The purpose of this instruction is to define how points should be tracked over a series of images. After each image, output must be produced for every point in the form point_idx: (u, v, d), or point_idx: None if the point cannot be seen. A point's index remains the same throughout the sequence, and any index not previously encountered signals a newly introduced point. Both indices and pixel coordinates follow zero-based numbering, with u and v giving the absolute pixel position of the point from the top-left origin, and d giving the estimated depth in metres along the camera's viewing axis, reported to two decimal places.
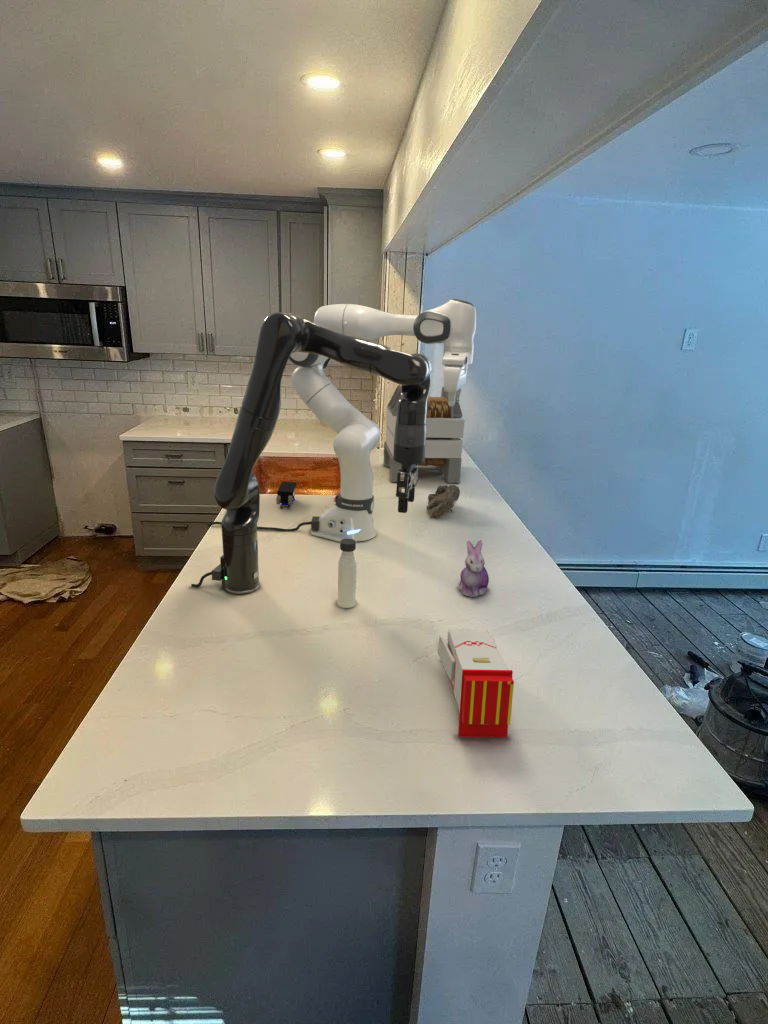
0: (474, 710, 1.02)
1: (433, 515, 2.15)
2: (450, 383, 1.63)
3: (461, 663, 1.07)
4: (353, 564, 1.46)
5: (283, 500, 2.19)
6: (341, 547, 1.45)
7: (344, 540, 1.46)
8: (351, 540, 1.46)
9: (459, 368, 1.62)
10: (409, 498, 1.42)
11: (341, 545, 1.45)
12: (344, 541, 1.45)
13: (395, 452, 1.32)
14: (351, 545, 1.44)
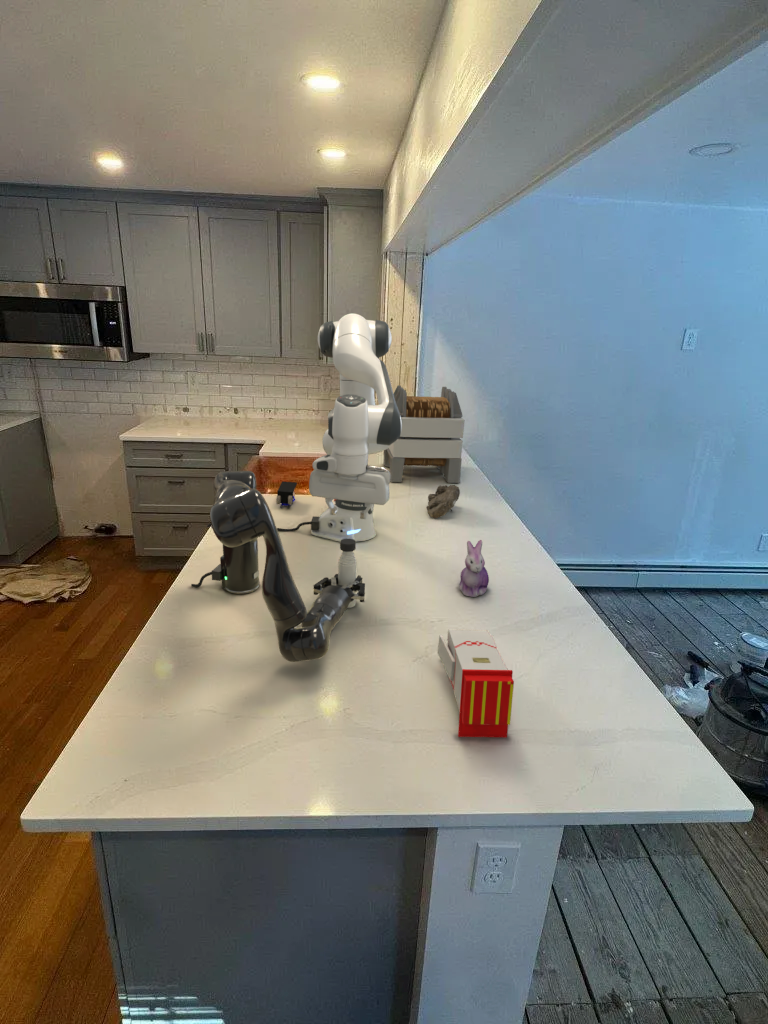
0: (474, 710, 1.02)
1: (433, 515, 2.15)
2: None
3: (461, 663, 1.07)
4: (353, 564, 1.46)
5: (283, 500, 2.19)
6: (341, 547, 1.45)
7: (344, 540, 1.46)
8: (351, 540, 1.46)
9: (313, 471, 1.39)
10: None
11: (341, 545, 1.45)
12: (344, 541, 1.45)
13: (323, 590, 1.38)
14: (351, 545, 1.44)
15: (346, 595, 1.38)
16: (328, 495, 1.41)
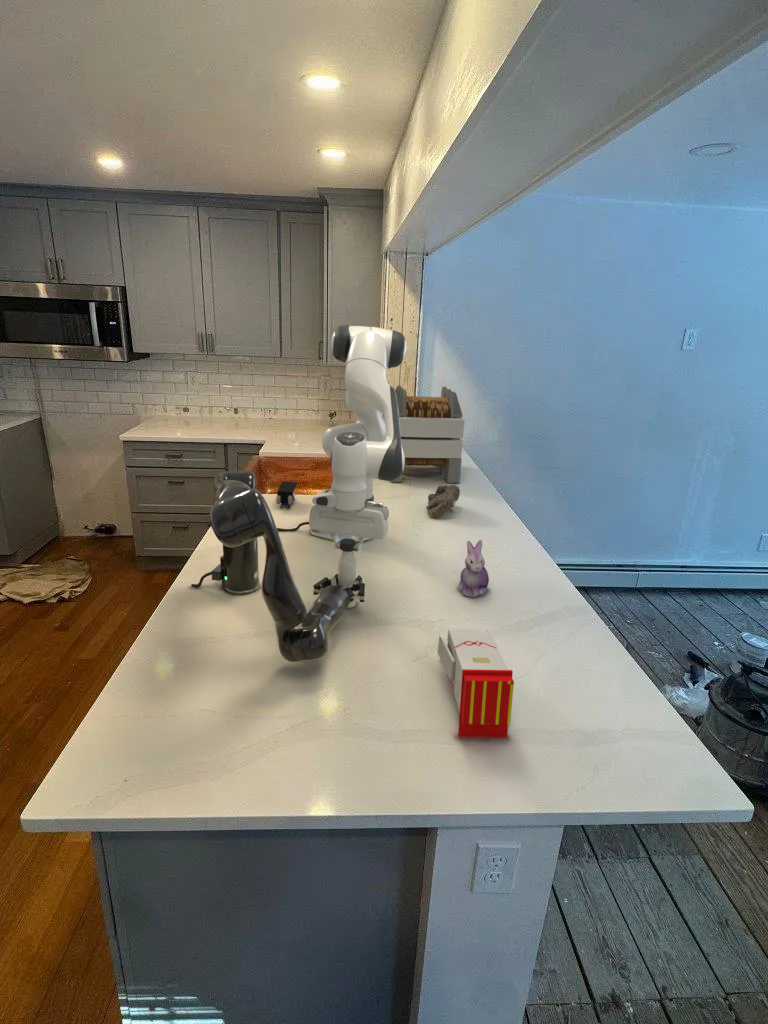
0: (474, 710, 1.02)
1: (433, 515, 2.15)
2: None
3: (461, 663, 1.07)
4: (353, 564, 1.46)
5: (283, 500, 2.19)
6: (341, 547, 1.45)
7: (344, 540, 1.46)
8: (351, 540, 1.46)
9: None
10: None
11: (341, 545, 1.45)
12: (344, 541, 1.45)
13: (323, 590, 1.38)
14: (351, 545, 1.44)
15: (346, 595, 1.38)
16: (328, 529, 1.44)
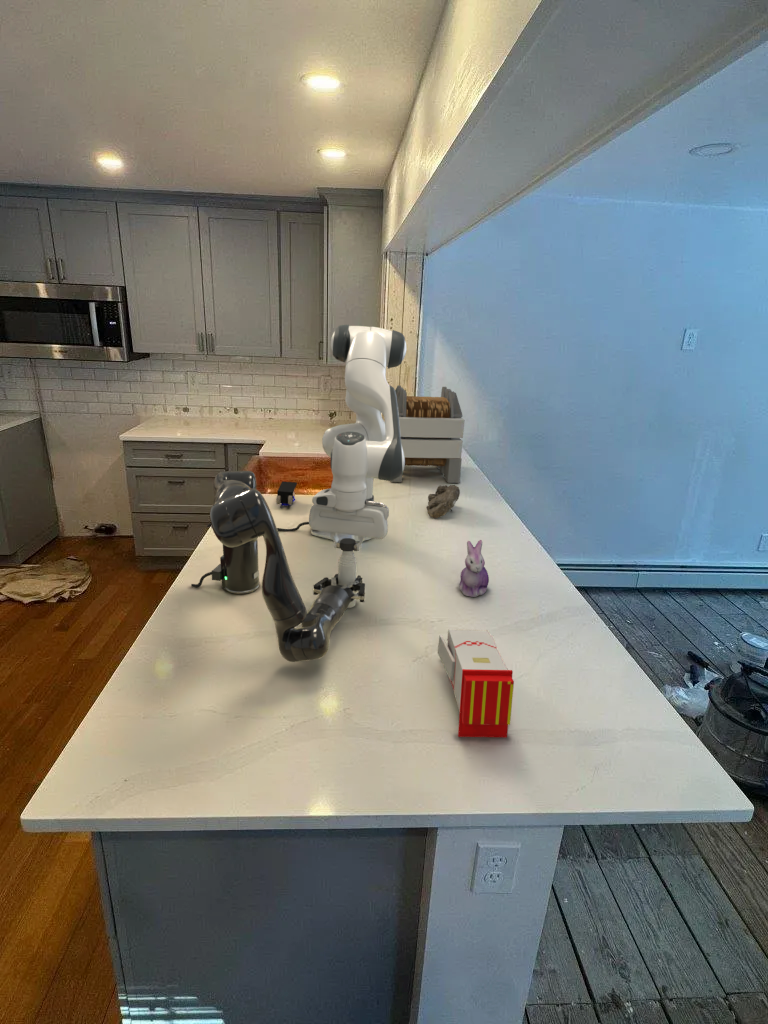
0: (474, 710, 1.02)
1: (433, 515, 2.15)
2: None
3: (461, 663, 1.07)
4: (353, 564, 1.46)
5: (283, 500, 2.19)
6: (351, 548, 1.44)
7: (345, 542, 1.45)
8: (345, 539, 1.46)
9: None
10: None
11: (351, 546, 1.44)
12: (347, 542, 1.45)
13: (323, 590, 1.38)
14: None
15: (346, 595, 1.38)
16: (328, 529, 1.44)
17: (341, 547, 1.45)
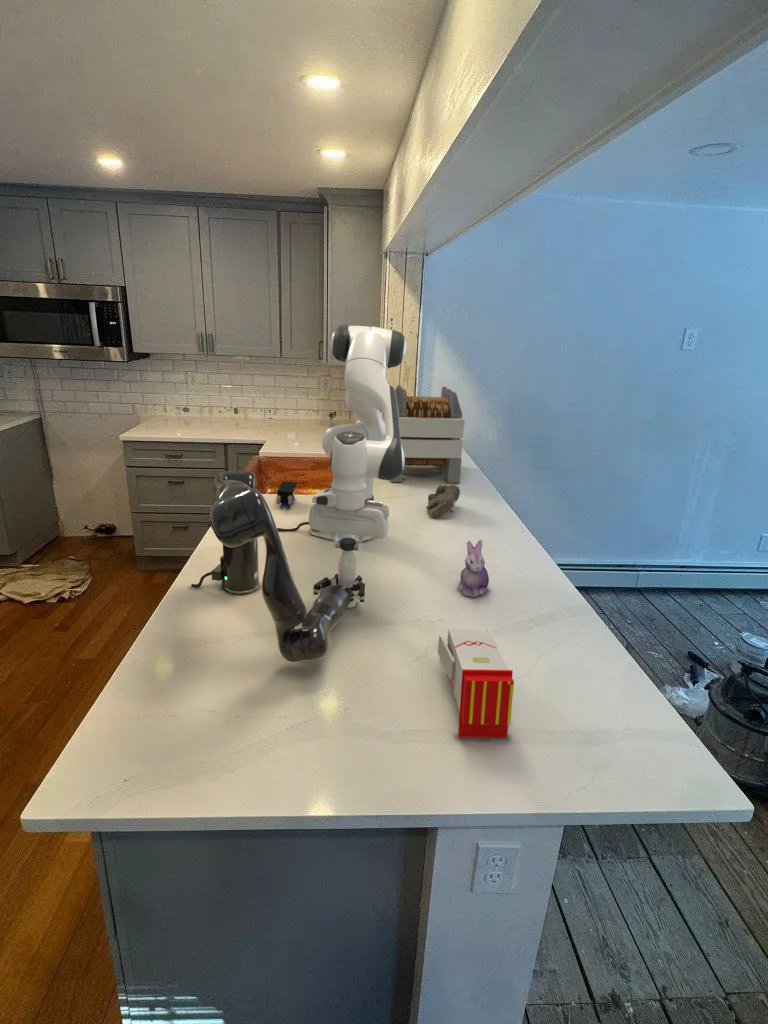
0: (474, 710, 1.02)
1: (433, 515, 2.15)
2: None
3: (461, 663, 1.07)
4: (353, 564, 1.46)
5: (283, 500, 2.19)
6: None
7: (351, 541, 1.45)
8: (344, 541, 1.45)
9: (312, 505, 1.42)
10: None
11: None
12: (351, 540, 1.45)
13: (323, 590, 1.38)
14: None
15: (346, 595, 1.38)
16: (328, 528, 1.44)
17: (351, 548, 1.44)
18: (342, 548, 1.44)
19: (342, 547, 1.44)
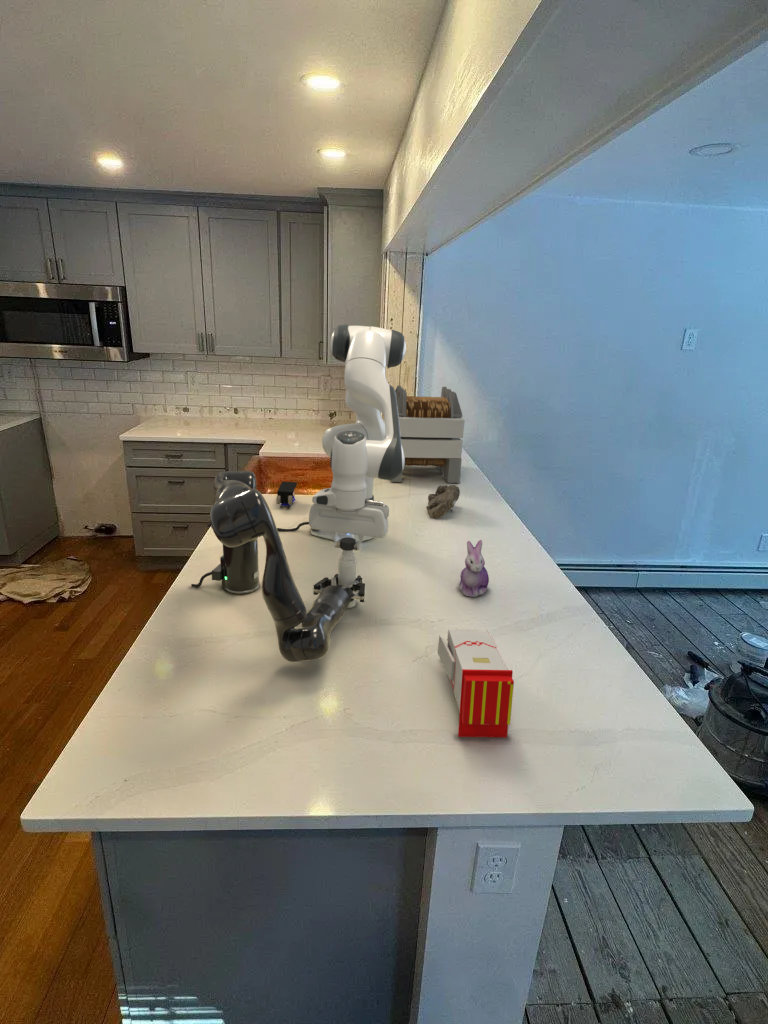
0: (474, 710, 1.02)
1: (433, 515, 2.15)
2: None
3: (461, 663, 1.07)
4: (353, 564, 1.46)
5: (283, 500, 2.19)
6: None
7: (351, 539, 1.46)
8: (349, 541, 1.44)
9: None
10: None
11: None
12: (348, 539, 1.46)
13: (323, 590, 1.38)
14: (340, 542, 1.45)
15: (346, 595, 1.38)
16: (328, 528, 1.44)
17: None
18: (352, 548, 1.45)
19: (352, 547, 1.44)
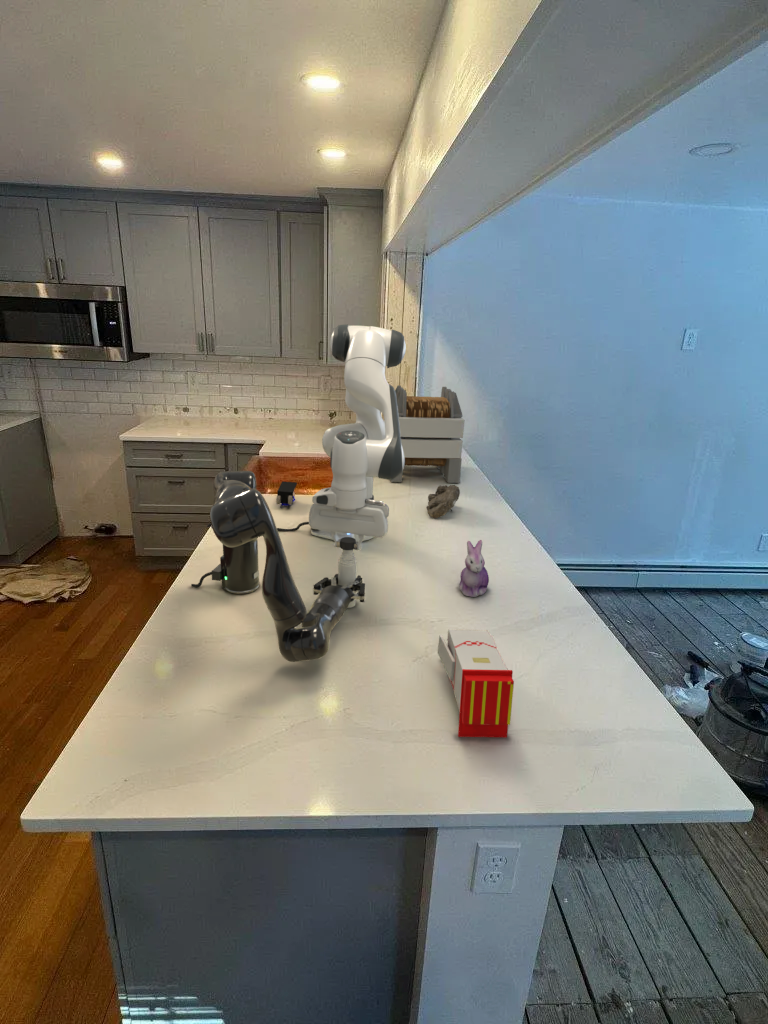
0: (474, 710, 1.02)
1: (433, 515, 2.15)
2: None
3: (461, 663, 1.07)
4: (353, 564, 1.46)
5: (283, 500, 2.19)
6: (340, 544, 1.45)
7: (345, 538, 1.46)
8: (352, 539, 1.46)
9: None
10: None
11: (340, 542, 1.45)
12: (344, 539, 1.45)
13: (323, 590, 1.38)
14: (348, 544, 1.44)
15: (346, 595, 1.38)
16: (328, 528, 1.43)
17: None
18: None
19: None
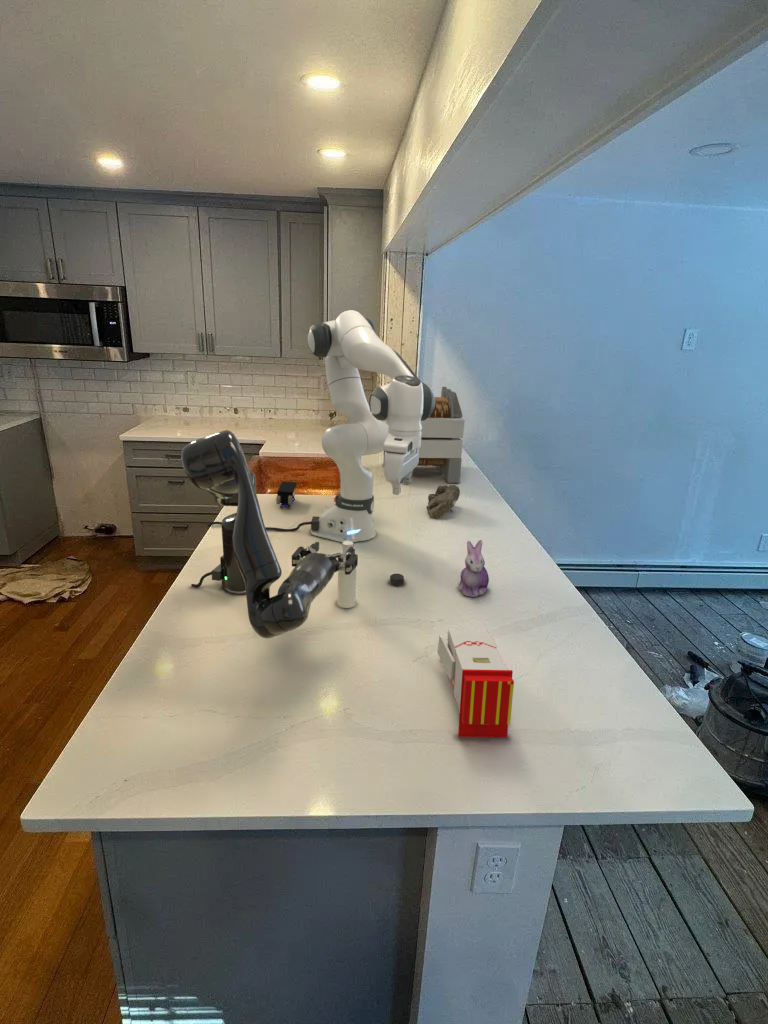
0: (474, 710, 1.02)
1: (433, 515, 2.15)
2: (391, 473, 1.43)
3: (461, 663, 1.07)
4: None
5: (283, 500, 2.19)
6: (403, 580, 1.64)
7: (398, 578, 1.63)
8: (393, 576, 1.63)
9: (401, 456, 1.42)
10: None
11: None
12: (399, 577, 1.63)
13: (303, 558, 1.21)
14: None
15: (330, 564, 1.22)
16: (404, 475, 1.48)
17: (398, 583, 1.62)
18: (390, 582, 1.63)
19: (390, 581, 1.63)
